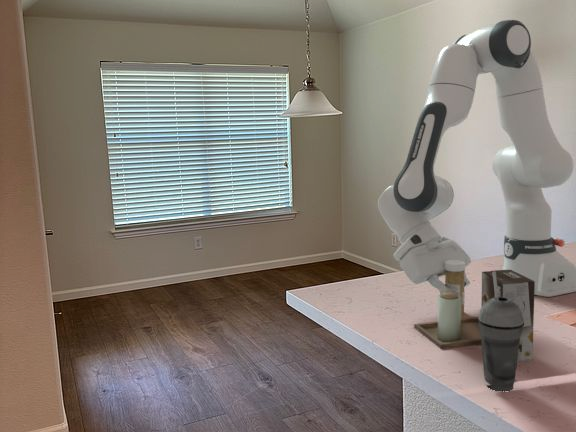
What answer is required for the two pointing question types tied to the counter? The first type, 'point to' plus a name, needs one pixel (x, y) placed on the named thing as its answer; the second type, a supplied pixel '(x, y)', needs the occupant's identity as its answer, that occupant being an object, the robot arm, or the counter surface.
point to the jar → (449, 316)
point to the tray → (468, 337)
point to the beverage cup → (500, 340)
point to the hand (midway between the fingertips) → (457, 289)
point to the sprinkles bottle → (455, 278)
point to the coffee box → (520, 294)
